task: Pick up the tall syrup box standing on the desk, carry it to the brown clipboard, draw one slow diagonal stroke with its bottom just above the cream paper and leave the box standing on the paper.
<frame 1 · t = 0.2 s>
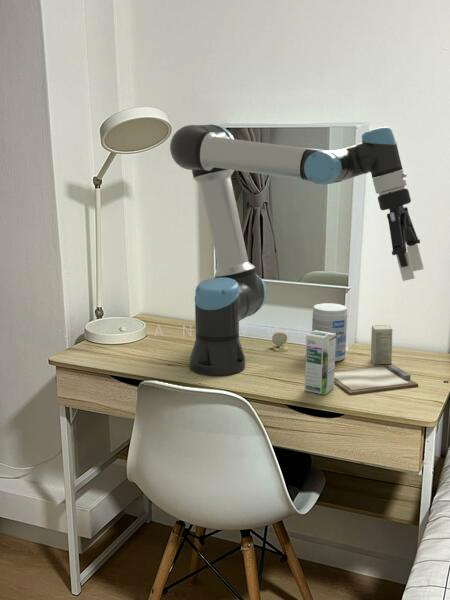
hand: (413, 274, 173), 27 cm above the table, tool tilted 20°, fingers open, 13 cm apart
clipboard: (369, 380, 179), on the table
supplement tub: (328, 358, 197), on the table
eyeshadow: (280, 350, 205), on the table
syrup box: (319, 390, 173), on the table
skincare box: (380, 362, 193), on the table
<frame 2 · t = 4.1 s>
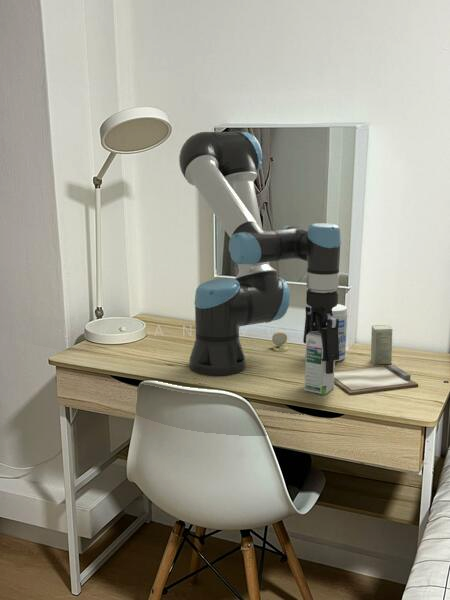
hand: (319, 379, 172), 3 cm above the table, tool pointing down, fingers closed on syrup box, 8 cm apart
syrup box: (319, 390, 173), on the table, touching gripper
everything else where it was.
when the fingers open (4 cm above the table, at t = 11.6 s): syrup box stays where it is, resting on clipboard.
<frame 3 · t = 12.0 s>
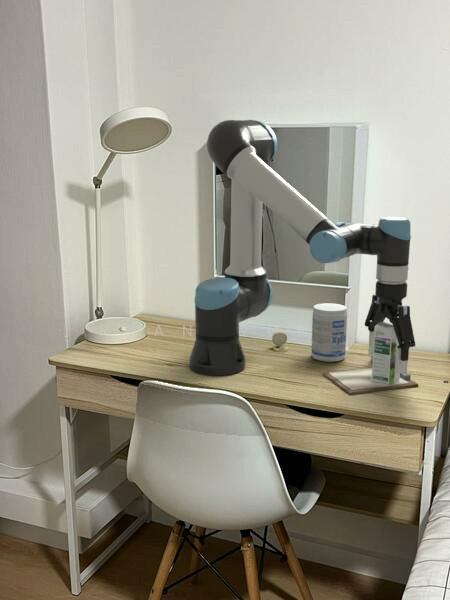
hand: (387, 363, 176), 5 cm above the table, tool pointing down, fingers open, 13 cm apart
syrup box: (385, 380, 177), point 1 cm above the table, touching clipboard
everything else where it was.
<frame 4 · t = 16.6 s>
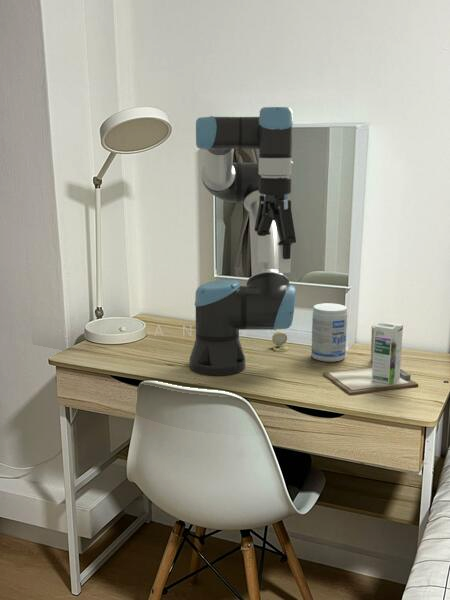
hand: (273, 267, 166), 31 cm above the table, tool pointing down, fingers open, 13 cm apart
nothing on the table moved.
at the end: syrup box inside the target area on the clipboard (4.1 cm from its centre), point 0.6 cm above the clipboard's base; syrup box tilted 0°; the gripper is holding nothing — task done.
